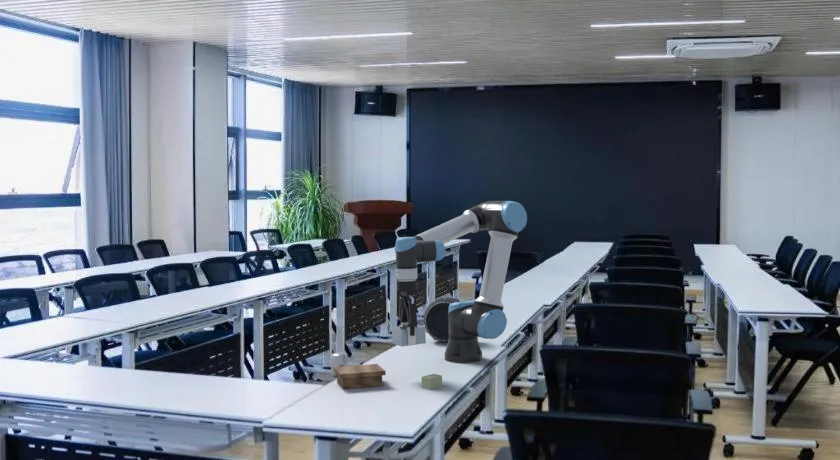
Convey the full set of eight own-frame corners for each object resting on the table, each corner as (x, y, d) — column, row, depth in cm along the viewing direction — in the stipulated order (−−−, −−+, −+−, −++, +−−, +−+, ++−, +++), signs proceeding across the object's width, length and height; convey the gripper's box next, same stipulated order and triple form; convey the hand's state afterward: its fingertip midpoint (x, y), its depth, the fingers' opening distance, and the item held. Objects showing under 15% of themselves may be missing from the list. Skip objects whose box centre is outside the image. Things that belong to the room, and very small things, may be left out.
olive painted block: (434, 385, 294) (434, 373, 294) (442, 386, 291) (442, 375, 291) (421, 388, 290) (421, 376, 290) (429, 389, 287) (429, 378, 287)
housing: (415, 340, 310) (415, 322, 309) (425, 343, 304) (425, 324, 303) (392, 343, 305) (391, 324, 304) (401, 346, 299) (401, 327, 298)
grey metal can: (345, 373, 313) (345, 352, 313) (349, 376, 308) (348, 355, 307) (329, 374, 312) (329, 353, 311) (332, 377, 306) (332, 356, 305)
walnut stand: (377, 378, 303) (377, 363, 303) (385, 386, 292) (385, 370, 292) (333, 382, 299) (333, 367, 299) (340, 390, 287) (340, 374, 287)
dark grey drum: (467, 345, 365) (466, 299, 364) (422, 343, 369) (421, 298, 368) (470, 340, 375) (470, 296, 374) (426, 339, 379) (426, 295, 378)
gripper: (389, 277, 312) (391, 337, 313) (404, 283, 292) (406, 348, 293) (409, 276, 314) (410, 336, 315) (425, 282, 294) (426, 346, 295)
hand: (408, 342), depth 304 cm, fingers closed on housing, 8 cm apart
